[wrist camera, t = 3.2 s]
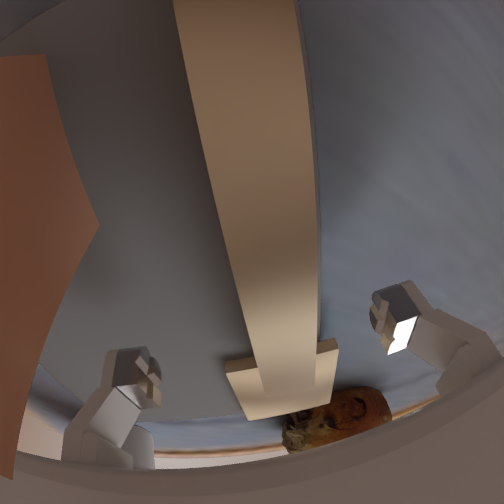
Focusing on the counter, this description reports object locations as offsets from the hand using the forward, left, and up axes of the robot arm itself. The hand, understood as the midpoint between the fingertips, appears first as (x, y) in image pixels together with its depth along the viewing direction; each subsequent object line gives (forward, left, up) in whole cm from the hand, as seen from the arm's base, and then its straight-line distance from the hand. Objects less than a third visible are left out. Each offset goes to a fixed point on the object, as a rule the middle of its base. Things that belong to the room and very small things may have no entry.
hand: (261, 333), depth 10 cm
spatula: (-1, 0, -2) cm, 2 cm away
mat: (+5, 0, -3) cm, 6 cm away
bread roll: (-5, +18, -3) cm, 19 cm away
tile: (+5, -7, -2) cm, 9 cm away
